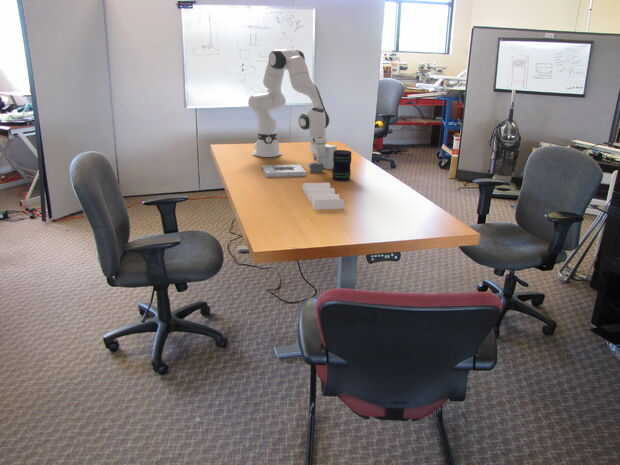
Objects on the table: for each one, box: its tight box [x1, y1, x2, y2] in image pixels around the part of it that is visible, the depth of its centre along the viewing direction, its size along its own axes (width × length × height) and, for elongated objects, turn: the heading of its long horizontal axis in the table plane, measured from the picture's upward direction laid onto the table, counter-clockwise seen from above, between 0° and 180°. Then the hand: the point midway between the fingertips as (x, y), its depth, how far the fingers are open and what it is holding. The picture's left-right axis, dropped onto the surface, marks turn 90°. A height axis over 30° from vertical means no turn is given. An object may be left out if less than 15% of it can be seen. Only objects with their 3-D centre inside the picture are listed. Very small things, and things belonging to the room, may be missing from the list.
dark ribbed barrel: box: [331, 149, 352, 182], centre depth 276 cm, size 10×10×15 cm
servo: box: [307, 161, 325, 174], centre depth 292 cm, size 4×10×6 cm, turn 102°
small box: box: [321, 143, 338, 170], centre depth 301 cm, size 8×6×13 cm
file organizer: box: [301, 182, 345, 211], centre depth 244 cm, size 13×35×5 cm, turn 10°
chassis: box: [261, 164, 307, 178], centre depth 288 cm, size 18×22×2 cm
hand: (317, 162), depth 291 cm, fingers open, 8 cm apart
